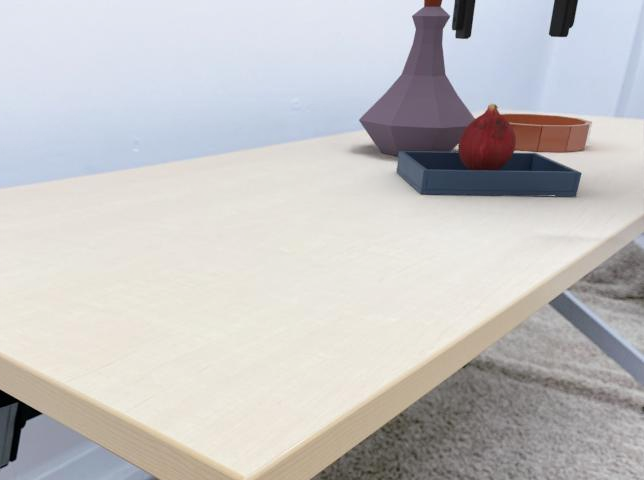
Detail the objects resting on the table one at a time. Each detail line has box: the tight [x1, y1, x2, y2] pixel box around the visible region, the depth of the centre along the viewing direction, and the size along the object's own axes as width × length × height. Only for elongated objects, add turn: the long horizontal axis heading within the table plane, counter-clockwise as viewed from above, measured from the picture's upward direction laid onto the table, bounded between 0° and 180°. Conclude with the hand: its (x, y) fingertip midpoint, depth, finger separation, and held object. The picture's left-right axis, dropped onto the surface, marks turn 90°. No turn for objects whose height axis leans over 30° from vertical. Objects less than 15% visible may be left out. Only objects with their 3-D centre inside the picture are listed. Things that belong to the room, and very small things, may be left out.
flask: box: [358, 0, 476, 157], centre depth 94 cm, size 16×16×20 cm
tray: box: [396, 151, 582, 198], centre depth 79 cm, size 16×12×2 cm
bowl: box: [500, 113, 593, 153], centre depth 105 cm, size 15×15×4 cm
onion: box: [457, 103, 516, 171], centre depth 77 cm, size 6×6×8 cm
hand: (509, 37), depth 73 cm, fingers open, 9 cm apart
